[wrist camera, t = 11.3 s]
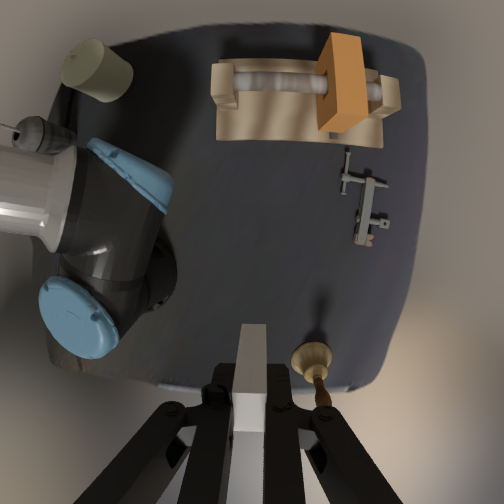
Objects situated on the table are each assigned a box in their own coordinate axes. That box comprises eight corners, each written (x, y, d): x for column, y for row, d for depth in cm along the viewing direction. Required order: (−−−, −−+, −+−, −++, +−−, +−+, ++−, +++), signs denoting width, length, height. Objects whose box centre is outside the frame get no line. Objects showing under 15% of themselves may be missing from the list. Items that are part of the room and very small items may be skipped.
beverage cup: (52, 154, 44) (-18, 151, 25) (64, 121, 42) (-5, 106, 23) (74, 163, 44) (1, 161, 25) (87, 128, 43) (15, 112, 23)
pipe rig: (217, 140, 43) (205, 129, 34) (219, 61, 40) (210, 36, 30) (380, 148, 42) (406, 141, 33) (375, 72, 39) (396, 52, 30)
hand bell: (338, 345, 51) (360, 397, 35) (323, 377, 53) (338, 431, 37) (298, 337, 51) (310, 392, 35) (285, 371, 53) (291, 428, 37)
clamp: (386, 248, 44) (333, 241, 45) (381, 246, 47) (330, 238, 47) (399, 163, 41) (346, 150, 41) (393, 164, 43) (342, 151, 43)
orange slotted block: (318, 131, 40) (337, 112, 29) (315, 65, 38) (330, 32, 26) (342, 133, 40) (368, 116, 29) (338, 68, 37) (360, 37, 26)
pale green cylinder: (112, 55, 39) (82, 32, 28) (142, 69, 40) (113, 44, 28) (86, 92, 41) (50, 77, 29) (113, 109, 42) (77, 94, 30)
